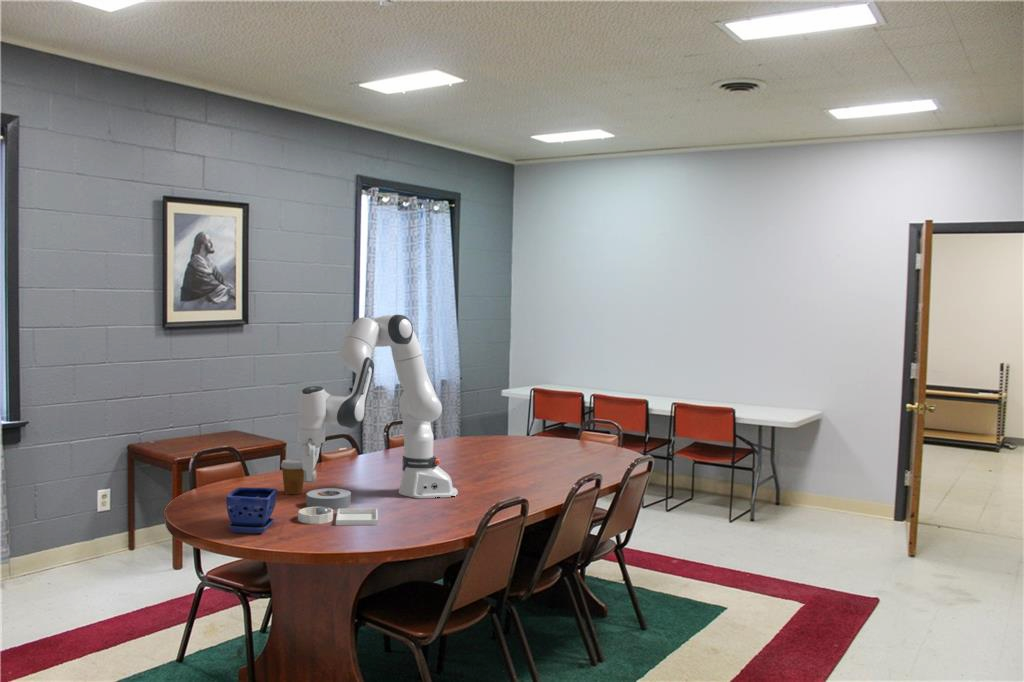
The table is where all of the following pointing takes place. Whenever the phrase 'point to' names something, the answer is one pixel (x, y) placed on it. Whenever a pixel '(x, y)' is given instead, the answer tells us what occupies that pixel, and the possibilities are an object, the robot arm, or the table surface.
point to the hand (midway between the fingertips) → (310, 478)
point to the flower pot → (251, 509)
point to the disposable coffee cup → (292, 476)
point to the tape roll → (329, 498)
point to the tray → (357, 516)
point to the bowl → (314, 516)
